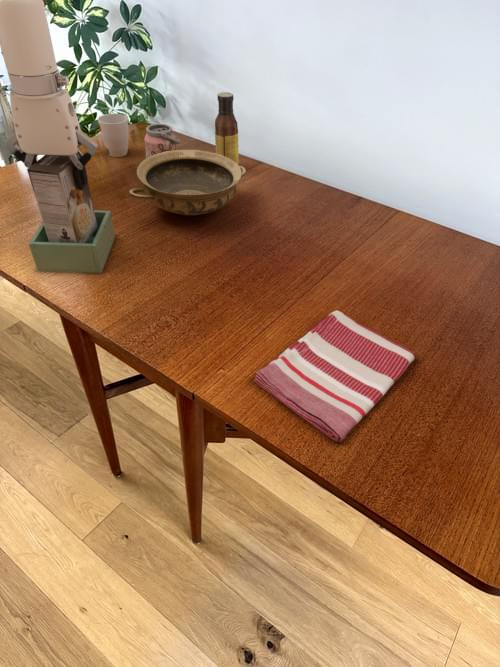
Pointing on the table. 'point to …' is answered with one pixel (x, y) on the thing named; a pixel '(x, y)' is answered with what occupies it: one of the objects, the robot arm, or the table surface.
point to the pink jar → (159, 139)
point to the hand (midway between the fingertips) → (61, 185)
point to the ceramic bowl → (188, 181)
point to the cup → (114, 133)
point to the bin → (75, 249)
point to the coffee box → (62, 200)
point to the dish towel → (335, 373)
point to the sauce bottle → (226, 128)
